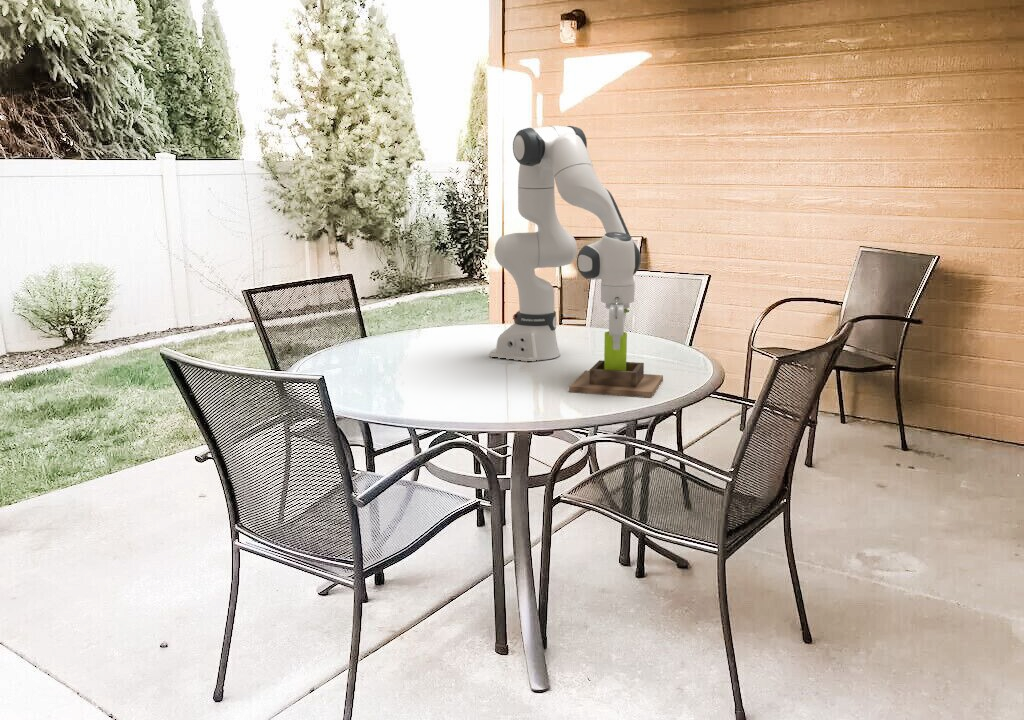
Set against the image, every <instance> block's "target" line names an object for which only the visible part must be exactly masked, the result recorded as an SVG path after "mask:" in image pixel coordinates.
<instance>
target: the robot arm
mask: <svg viewBox="0 0 1024 720" xmlns="http://www.w3.org/2000/svg"><path fill="white" fill-rule="evenodd" d="M512 152H513V156H514V158H515V160H516V161H517V162H518V163H519V168H518V174H517V175H518V176H517V177H518V178H517V209H518V213H519V214H520V216H521V217H522V218H523V219H525V220H527V221H529V222H531V223H533V224H535V225H537V231H535V232H514V233H509V234H504V235H501V236H499V238H498V239H497V241H496V243H495V246H494V256H495V260H496V262H497V263H498V264H499V265H500V267H502V268H504V269H505V270H506V271H507V272H508V273H509V274H510V275H511V277H512V278H513V280H514V281H515V284H516V287H517V291H518V300H519V310H517V311H516V313H514V314H513V315H512V320H513V322H514V323H513V324H512V325H510V326H509V327H507V329H506V330H504V331H503V332H502V333H500V334H499V336H498V338H497V340H496V348H493V349H492V350H490V352H489V357H490V356H491V357H490V358H492V357H498V358H497V359H500V358H506V359H505V360H509V359H514V360H513V361H518V360H521V361H520V362H527V361H532V362H536V360H537V361H543V360H551V359H554V358H558V357H560V355H561V353H560V351H559V350H560V349H559V345H558V340H557V334H556V328H557V312H556V311H555V288H554V286H553V285H552V283H550V281H547V280H546V279H544V278H541V277H539V276H537V275H536V273H535V269H540V268H542V269H543V268H560V267H563V266H568V265H571V264H572V263H573V262H574V260H576V267H577V270H578V272H579V274H580V275H581V276H582V277H583V278H584V279H587V280H594V281H595V280H601V282H600V302H601V303H604V304H605V309H607V310H609V311H608V312H609V314H608V331H609V335H610V336H613V349H614V350H619V349H620V339H621V336H623V332H625V331H624V330H625V322H626V318H627V312H626V313H624V309H627V310H629V309H630V304H631V303H634V302H635V294H636V293H635V292H636V291H635V289H636V288H635V286H636V285H635V282H636V281H635V279H634V275H635V274H636V273H637V271H639V268H640V266H641V262H642V255H641V252H640V250H639V247H638V246H637V244H636V242H635V241H634V240H633V238H632V236H631V234H630V233H629V230H628V227H627V225H626V222H625V221H624V219H623V217H622V213H621V212H620V210H619V207H618V204H617V202H616V200H615V198H614V196H613V195H612V193H611V192H610V191H609V190H608V189H607V188H606V187H604V185H603V184H602V182H601V181H600V180H599V178H598V176H597V174H596V172H595V168H594V166H593V163H592V159H591V155H590V154H589V151H588V142H587V138H586V135H585V132H584V131H583V130H582V128H580V127H577V126H573V125H572V126H571V125H567V126H565V125H564V126H563V125H548V126H538V127H526V128H523V129H520V130H518V131H517V132H516V134H515V136H514V138H513V140H512ZM555 185H556V188H557V192H558V193H559V195H560V197H561V198H562V200H563V201H565V202H566V203H568V204H569V205H571V206H574V207H577V208H580V209H583V210H585V211H588V212H590V213H592V214H594V215H595V216H596V217H597V218H598V219H599V220H600V222H601V224H602V226H603V228H604V230H605V233H604V234H603V236H602V237H601V238H600V239H598V240H597V241H595V242H593V243H590V244H587V245H584V246H583V247H581V248H580V249H579V251H578V244H577V240H576V239H575V237H574V236H573V235H572V234H571V233H570V232H569V231H567V230H566V229H565V228H564V227H563V226H562V224H561V222H560V221H559V219H558V215H557V213H556V212H557V211H556V200H555V199H556V198H555ZM616 318H617V319H616Z"/></svg>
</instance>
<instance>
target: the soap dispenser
mask: <svg viewBox="0 0 1024 720" xmlns="http://www.w3.org/2000/svg"><path fill="white" fill-rule="evenodd" d="M624 313H626V314H627V313H630V309H624ZM616 319H617V318H616ZM627 340H628V333H627V332H626V331H624V332H623V336H621V339H620V349H619V350H614V349H613V336H610V335H609V330H608V331H605V332H604V356H603V357H604V358H603V359H604V360H603V361H604V370H618V371H626V362H627V345H628V343H627Z"/></svg>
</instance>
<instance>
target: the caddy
mask: <svg viewBox="0 0 1024 720" xmlns="http://www.w3.org/2000/svg"><path fill="white" fill-rule="evenodd" d="M644 372H645V363H644V362H635V361H626V371H618V370H604V360H601V359H600V360H598V361H597V362H596V363H595V364H594V365H593V366H592V367H591V368H590V369H589V370H584V371H583V373H581V374H580V375H579V376H578V377H576V379H575V380H574V381H573V382H572V383H571V384H570V385H569V386H568V392H569V393H579V394H592V395H593V394H594V395H606V394H607V396H620V395H621V396H624V397H634V396H641V397H640V398H648V397H652V396H653V397H654V396H655V394H656V393H657V391H658V389H659V388H660V386H661V384H662V383H661V382H663V380H664V375H663V374H650V373H646V374H645V373H644ZM659 385H660V386H659ZM656 390H657V391H656ZM654 393H655V394H654ZM642 396H643V397H642ZM653 397H652V398H653Z"/></svg>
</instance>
